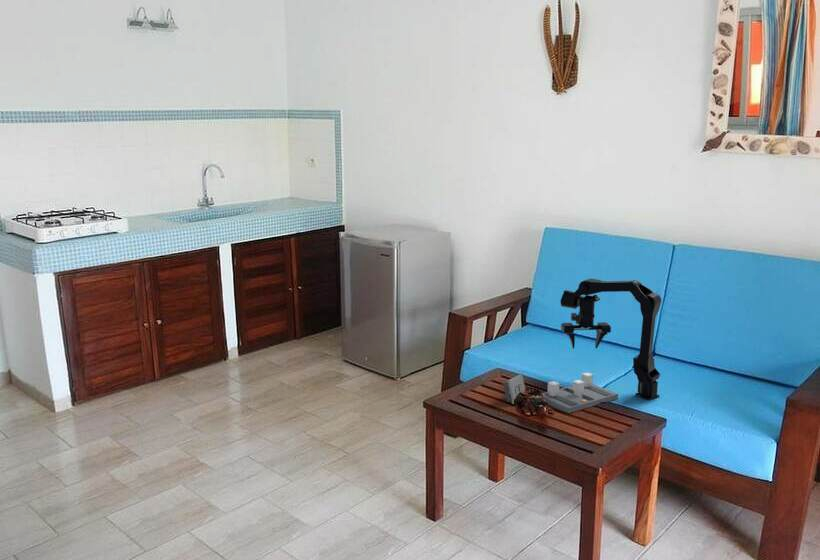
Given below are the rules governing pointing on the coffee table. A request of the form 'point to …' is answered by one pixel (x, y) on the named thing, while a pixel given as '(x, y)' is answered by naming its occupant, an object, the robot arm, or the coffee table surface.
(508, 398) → the electrical switch
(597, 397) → the breaker panel
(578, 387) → the breaker handle
